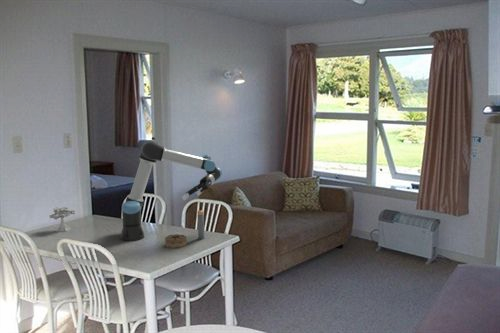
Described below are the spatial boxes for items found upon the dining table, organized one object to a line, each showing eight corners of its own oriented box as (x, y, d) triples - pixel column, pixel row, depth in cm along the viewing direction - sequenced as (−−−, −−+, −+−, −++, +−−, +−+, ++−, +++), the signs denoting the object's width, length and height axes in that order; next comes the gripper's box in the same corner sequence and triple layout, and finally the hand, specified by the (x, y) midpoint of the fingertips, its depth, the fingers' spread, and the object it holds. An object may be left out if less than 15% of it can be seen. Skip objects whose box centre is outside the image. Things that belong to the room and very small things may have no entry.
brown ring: (163, 243, 304) (163, 235, 303) (182, 241, 309) (182, 233, 308) (169, 248, 293) (168, 240, 292) (188, 246, 298) (187, 238, 297)
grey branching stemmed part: (51, 234, 328) (49, 210, 326) (47, 229, 342) (45, 206, 340) (78, 231, 337) (77, 207, 335) (74, 226, 351) (72, 203, 349)
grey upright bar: (197, 237, 316) (196, 210, 314) (203, 237, 318) (202, 210, 315) (199, 239, 312) (198, 212, 310) (205, 238, 314) (204, 211, 312)
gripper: (222, 181, 323) (206, 196, 307) (197, 190, 338) (180, 206, 322) (217, 171, 322) (200, 186, 305) (191, 181, 337) (174, 196, 320)
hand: (190, 196), depth 313 cm, fingers open, 13 cm apart
